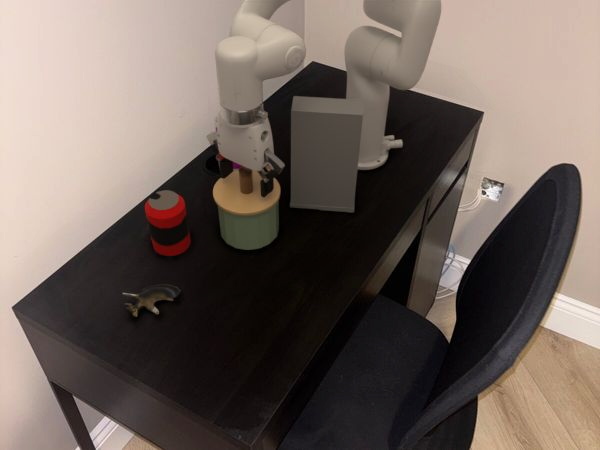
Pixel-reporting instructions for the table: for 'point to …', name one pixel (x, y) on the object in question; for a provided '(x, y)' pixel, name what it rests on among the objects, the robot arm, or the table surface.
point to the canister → (249, 228)
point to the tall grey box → (325, 152)
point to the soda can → (168, 223)
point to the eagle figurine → (151, 297)
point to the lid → (244, 193)
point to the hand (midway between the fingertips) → (246, 183)
